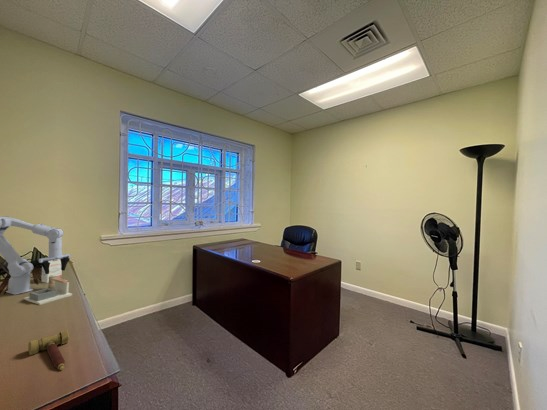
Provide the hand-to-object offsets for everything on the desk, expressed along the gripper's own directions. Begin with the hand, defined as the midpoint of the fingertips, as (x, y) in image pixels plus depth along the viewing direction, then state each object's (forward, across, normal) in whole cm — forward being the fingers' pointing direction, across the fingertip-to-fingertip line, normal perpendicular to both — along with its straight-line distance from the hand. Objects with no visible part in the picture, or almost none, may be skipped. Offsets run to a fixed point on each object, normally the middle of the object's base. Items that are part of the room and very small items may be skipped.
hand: (55, 272), depth 138 cm
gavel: (+12, -35, -72) cm, 81 cm away
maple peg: (+10, 0, +1) cm, 10 cm away
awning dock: (+10, -8, -12) cm, 18 cm away
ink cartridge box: (+10, +7, +19) cm, 23 cm away
